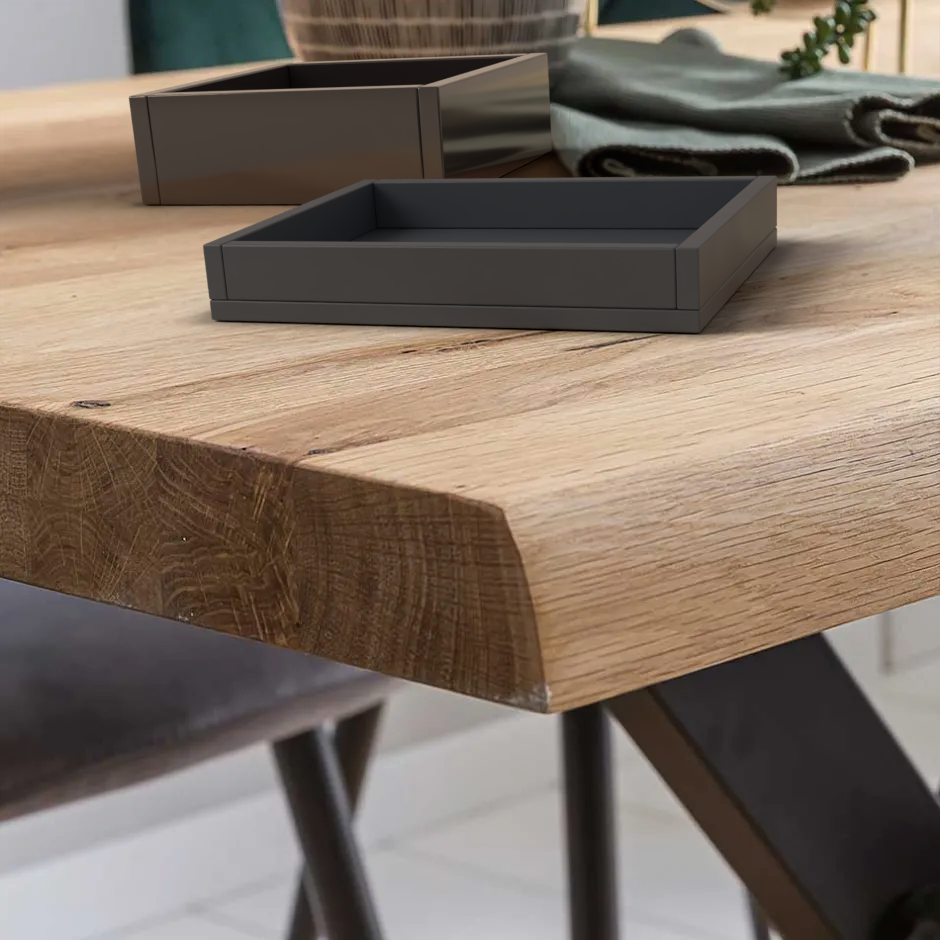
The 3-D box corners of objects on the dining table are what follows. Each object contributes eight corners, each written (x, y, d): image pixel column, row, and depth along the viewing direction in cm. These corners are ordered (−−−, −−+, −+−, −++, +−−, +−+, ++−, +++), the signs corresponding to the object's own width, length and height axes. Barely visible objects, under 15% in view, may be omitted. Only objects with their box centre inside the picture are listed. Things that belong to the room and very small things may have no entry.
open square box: (141, 205, 66) (127, 95, 65) (288, 155, 78) (279, 62, 77) (446, 204, 61) (438, 86, 60) (552, 151, 74) (548, 52, 72)
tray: (210, 320, 45) (201, 244, 44) (368, 242, 55) (363, 179, 54) (700, 333, 40) (698, 247, 39) (777, 245, 50) (777, 175, 49)
